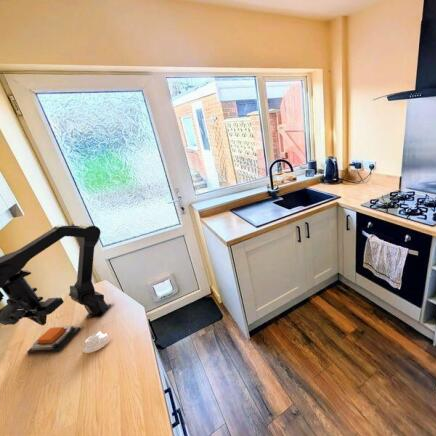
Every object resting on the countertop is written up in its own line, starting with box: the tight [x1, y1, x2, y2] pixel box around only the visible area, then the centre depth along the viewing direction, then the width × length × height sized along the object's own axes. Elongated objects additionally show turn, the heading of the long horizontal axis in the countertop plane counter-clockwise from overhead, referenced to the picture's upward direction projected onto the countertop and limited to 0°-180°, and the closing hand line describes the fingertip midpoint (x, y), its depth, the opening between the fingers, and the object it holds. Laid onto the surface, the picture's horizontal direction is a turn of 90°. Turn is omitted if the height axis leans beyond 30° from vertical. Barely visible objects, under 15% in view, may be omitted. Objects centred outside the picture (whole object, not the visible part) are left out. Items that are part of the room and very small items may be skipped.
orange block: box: [36, 326, 66, 344], centre depth 93 cm, size 6×6×3 cm
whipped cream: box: [82, 331, 110, 354], centre depth 89 cm, size 8×7×5 cm
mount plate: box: [26, 325, 81, 355], centre depth 93 cm, size 12×10×2 cm
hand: (44, 324), depth 90 cm, fingers closed
